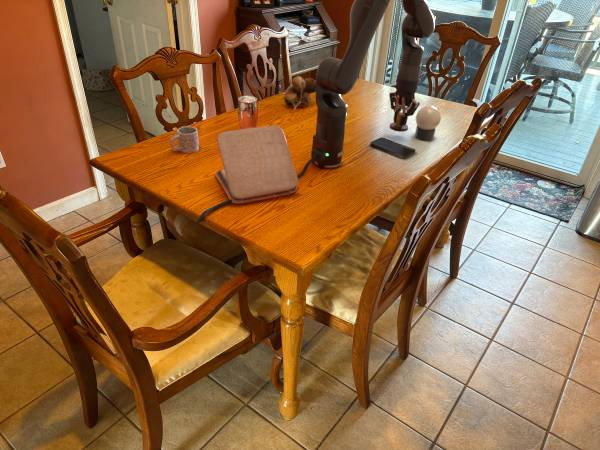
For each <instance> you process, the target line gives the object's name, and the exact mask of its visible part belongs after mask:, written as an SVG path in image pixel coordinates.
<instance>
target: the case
mask: <svg viewBox="0 0 600 450" xmlns="http://www.w3.org/2000/svg"><path fill="white" fill-rule="evenodd" d="M216 142H217V146H218V151H219V154H220V158H221V162H222V166H223V168H222V169H219V170H217V171H216V172H215V177H216V179H217V181H218V182H219V184H220V186H221V187H222V189H223V191H224V192H225V195H226V196H227V198H228V200H232V203H231V204H236V205H241V204H247V203H252V202H258V201H262V200H268V199H272V198H278V197H282V196H288V195H293V194H295V193H296V192H297V190H298V189H297V188H298V185H299V178H297V175H298V174H297V171H296V168H295V165H294V162H293V158H292V155H291V152H290V151H291V150H290V148H289V145H288V141H287V138H286V134H285V131H284V130H283V129H282V127H280V126H278V125H267V126H256V127H255V128H246V129H241V128H240V129H235V130H226V131H223V132H220V133H219V134H218V135H217V138H216Z"/></svg>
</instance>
